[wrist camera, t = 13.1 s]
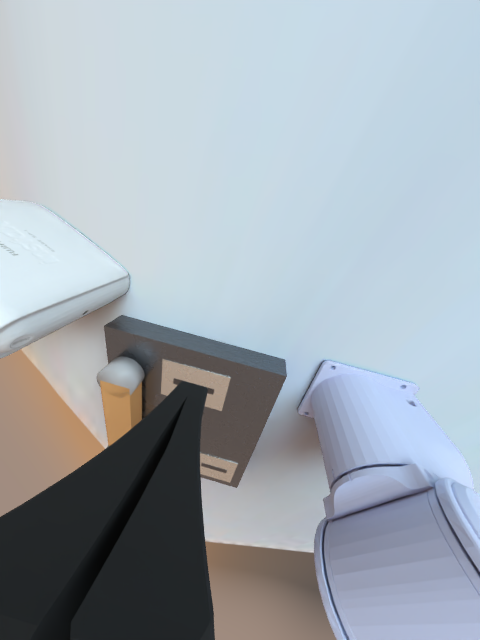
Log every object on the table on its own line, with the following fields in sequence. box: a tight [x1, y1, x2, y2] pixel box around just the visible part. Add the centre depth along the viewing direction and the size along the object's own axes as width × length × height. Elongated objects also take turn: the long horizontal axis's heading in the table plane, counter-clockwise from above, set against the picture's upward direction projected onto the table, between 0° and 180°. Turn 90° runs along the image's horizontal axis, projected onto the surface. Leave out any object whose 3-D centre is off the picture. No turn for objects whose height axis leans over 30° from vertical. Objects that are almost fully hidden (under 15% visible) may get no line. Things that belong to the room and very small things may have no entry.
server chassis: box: [104, 315, 287, 488], centre depth 25 cm, size 18×22×3 cm
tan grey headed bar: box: [97, 356, 145, 448], centre depth 22 cm, size 15×4×2 cm, turn 167°
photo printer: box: [0, 199, 130, 358], centre depth 13 cm, size 10×4×12 cm, turn 50°
